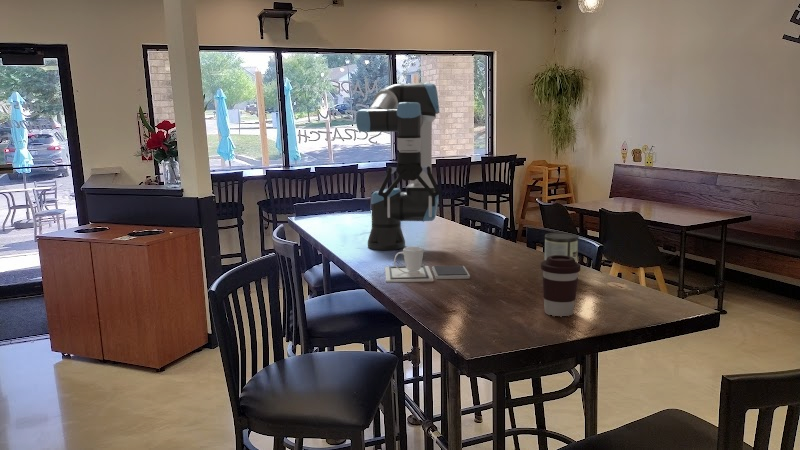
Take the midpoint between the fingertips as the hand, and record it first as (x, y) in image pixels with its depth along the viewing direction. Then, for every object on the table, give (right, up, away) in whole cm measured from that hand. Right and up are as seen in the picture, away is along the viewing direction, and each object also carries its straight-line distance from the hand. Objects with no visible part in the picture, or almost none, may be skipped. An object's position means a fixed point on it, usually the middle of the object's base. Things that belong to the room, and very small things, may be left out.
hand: (409, 216), depth 197 cm
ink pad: (+14, -19, +3) cm, 23 cm away
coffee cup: (+39, -26, -38) cm, 60 cm away
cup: (0, -19, +2) cm, 19 cm away
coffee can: (+48, -20, -4) cm, 52 cm away
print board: (0, -19, +2) cm, 19 cm away
